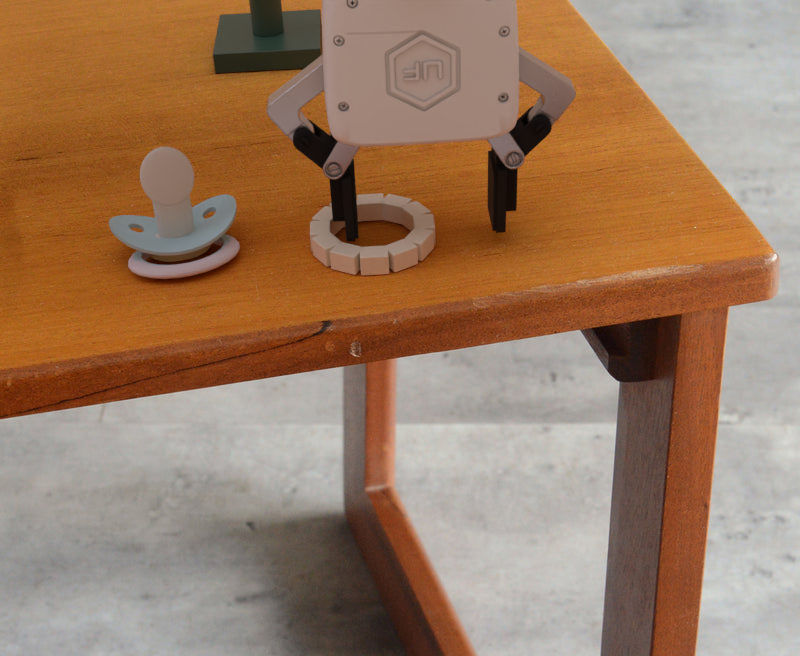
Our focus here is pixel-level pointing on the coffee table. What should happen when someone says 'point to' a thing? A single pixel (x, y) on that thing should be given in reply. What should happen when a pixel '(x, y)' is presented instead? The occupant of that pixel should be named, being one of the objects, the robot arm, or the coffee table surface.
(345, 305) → the coffee table surface
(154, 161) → the pacifier
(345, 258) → the ring
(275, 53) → the stand
